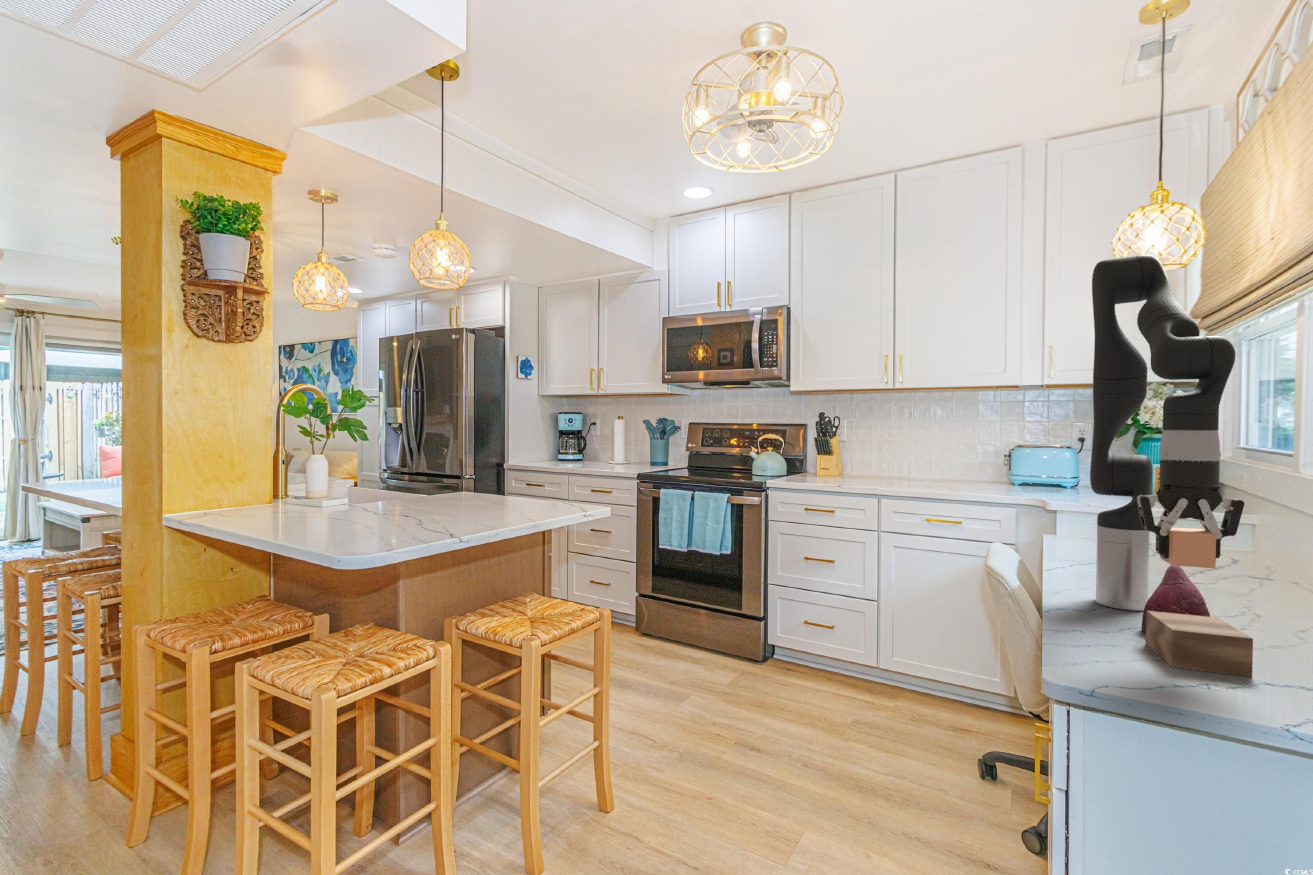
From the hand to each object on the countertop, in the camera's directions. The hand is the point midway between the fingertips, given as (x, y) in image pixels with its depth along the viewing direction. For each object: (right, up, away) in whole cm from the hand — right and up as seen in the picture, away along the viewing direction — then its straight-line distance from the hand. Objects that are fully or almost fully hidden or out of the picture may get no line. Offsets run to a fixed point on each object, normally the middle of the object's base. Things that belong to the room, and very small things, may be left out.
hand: (1186, 558), depth 103 cm
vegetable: (+9, -17, +13) cm, 23 cm away
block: (0, -1, 0) cm, 1 cm away
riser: (+2, -17, 0) cm, 17 cm away
